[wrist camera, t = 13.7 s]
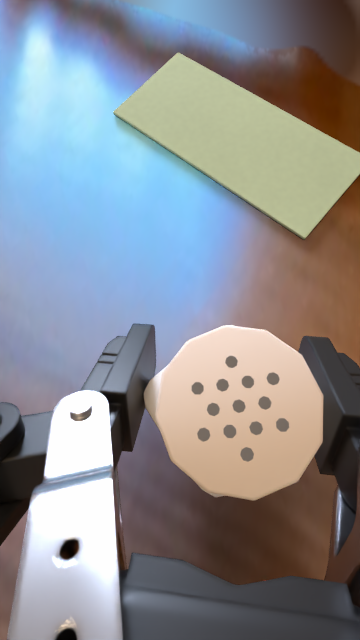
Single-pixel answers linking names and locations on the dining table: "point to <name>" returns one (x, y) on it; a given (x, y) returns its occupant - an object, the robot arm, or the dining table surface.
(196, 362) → the salt shaker
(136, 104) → the edge strip
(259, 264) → the dining table surface
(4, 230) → the dining table surface
